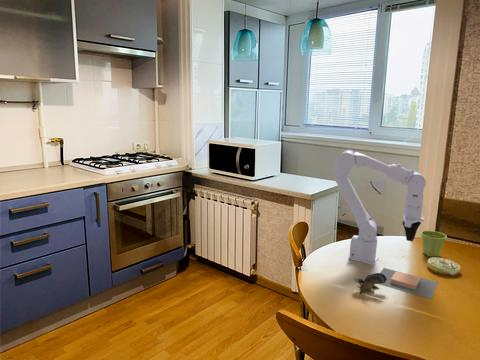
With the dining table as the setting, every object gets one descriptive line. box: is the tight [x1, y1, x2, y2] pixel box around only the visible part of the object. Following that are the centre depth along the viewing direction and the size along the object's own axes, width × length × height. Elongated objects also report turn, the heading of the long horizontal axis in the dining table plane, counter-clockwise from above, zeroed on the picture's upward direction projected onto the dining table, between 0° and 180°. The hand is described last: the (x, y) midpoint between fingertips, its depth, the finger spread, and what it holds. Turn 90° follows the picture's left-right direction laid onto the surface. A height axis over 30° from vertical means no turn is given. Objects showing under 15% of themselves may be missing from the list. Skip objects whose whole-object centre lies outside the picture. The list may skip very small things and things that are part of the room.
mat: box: [379, 267, 439, 300], centre depth 124 cm, size 18×14×1 cm
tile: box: [390, 270, 420, 290], centre depth 123 cm, size 8×2×7 cm
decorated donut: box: [426, 256, 461, 276], centre depth 134 cm, size 10×11×4 cm
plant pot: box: [420, 230, 448, 258], centre depth 148 cm, size 9×9×9 cm
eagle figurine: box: [353, 272, 387, 295], centre depth 118 cm, size 8×7×9 cm
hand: (409, 240), depth 135 cm, fingers closed
